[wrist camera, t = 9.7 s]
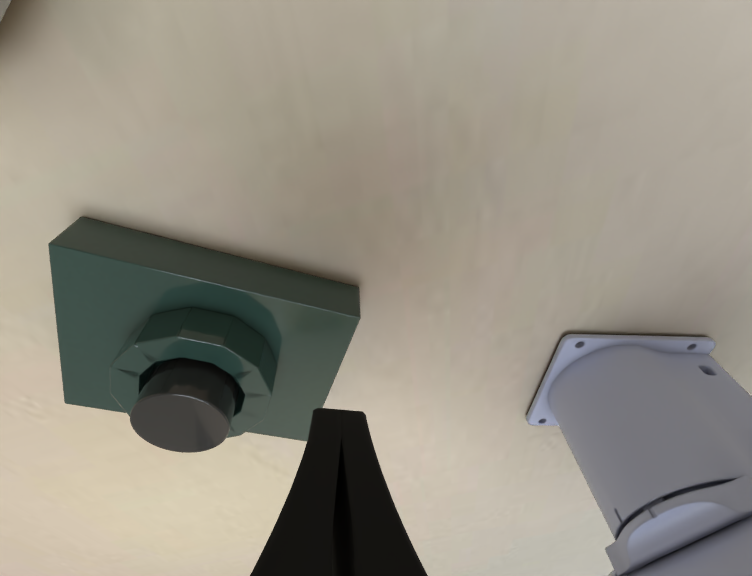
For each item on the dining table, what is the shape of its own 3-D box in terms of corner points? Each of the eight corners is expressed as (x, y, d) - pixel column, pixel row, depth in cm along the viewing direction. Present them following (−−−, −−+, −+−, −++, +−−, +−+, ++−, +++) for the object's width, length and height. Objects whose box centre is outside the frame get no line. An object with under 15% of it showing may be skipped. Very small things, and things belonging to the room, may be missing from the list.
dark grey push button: (245, 367, 19) (235, 404, 17) (232, 421, 21) (222, 458, 19) (150, 348, 18) (129, 385, 16) (146, 407, 20) (128, 445, 18)
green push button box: (359, 287, 21) (362, 347, 18) (311, 407, 27) (305, 473, 23) (81, 216, 18) (14, 271, 15) (88, 368, 24) (40, 437, 20)
